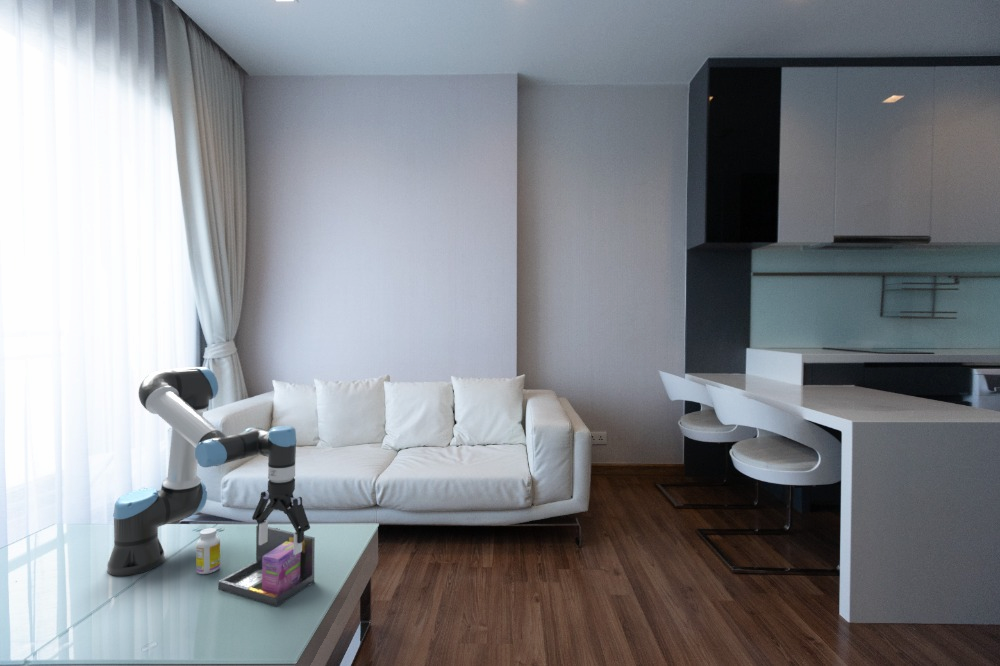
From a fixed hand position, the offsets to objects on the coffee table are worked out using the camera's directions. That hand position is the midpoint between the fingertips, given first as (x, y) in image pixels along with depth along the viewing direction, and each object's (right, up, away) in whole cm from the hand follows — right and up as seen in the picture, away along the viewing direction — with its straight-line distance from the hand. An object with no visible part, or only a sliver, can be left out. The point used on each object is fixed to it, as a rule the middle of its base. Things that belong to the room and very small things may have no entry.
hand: (280, 548), depth 153 cm
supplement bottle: (-28, -12, +11) cm, 32 cm away
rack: (-5, -12, +2) cm, 14 cm away
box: (0, -12, 0) cm, 12 cm away
